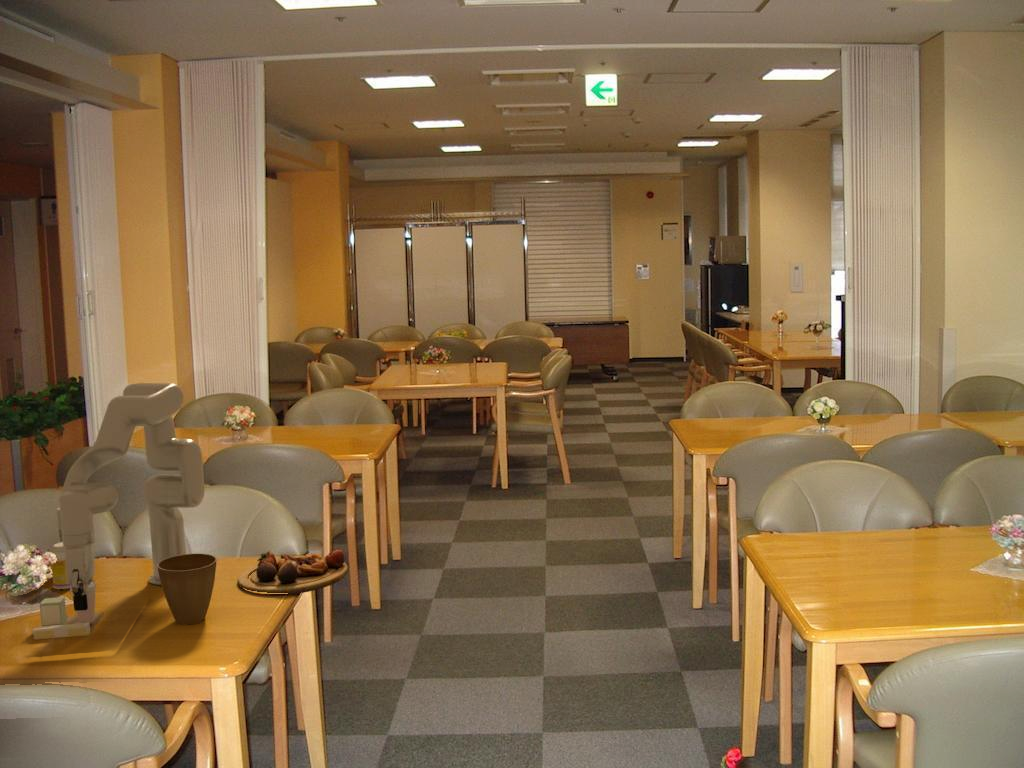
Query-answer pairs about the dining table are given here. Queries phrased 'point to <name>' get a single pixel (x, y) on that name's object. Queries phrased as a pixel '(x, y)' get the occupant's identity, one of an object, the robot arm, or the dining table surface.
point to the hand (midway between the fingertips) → (85, 604)
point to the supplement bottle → (59, 567)
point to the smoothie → (88, 614)
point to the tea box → (53, 611)
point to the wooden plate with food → (294, 573)
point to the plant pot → (188, 585)
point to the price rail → (61, 631)
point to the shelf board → (74, 620)
